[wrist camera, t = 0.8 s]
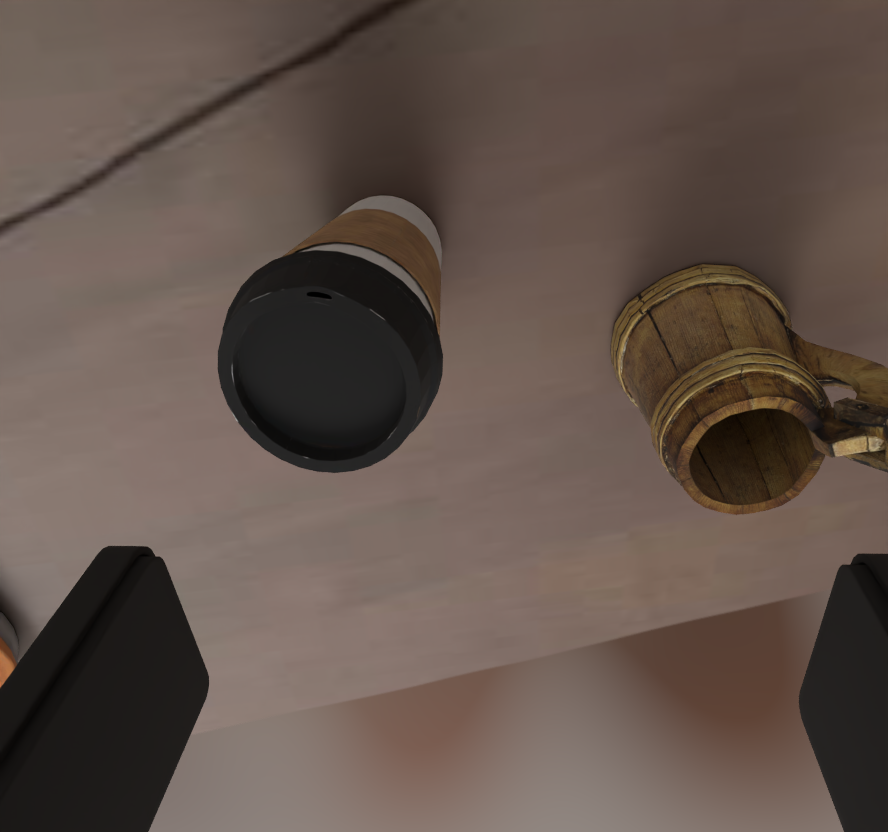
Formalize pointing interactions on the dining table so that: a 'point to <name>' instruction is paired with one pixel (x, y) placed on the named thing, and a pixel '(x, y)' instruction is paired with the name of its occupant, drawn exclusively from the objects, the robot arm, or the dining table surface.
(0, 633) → the pie
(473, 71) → the dining table surface
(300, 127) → the dining table surface
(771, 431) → the wooden mug
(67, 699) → the robot arm
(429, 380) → the coffee cup
